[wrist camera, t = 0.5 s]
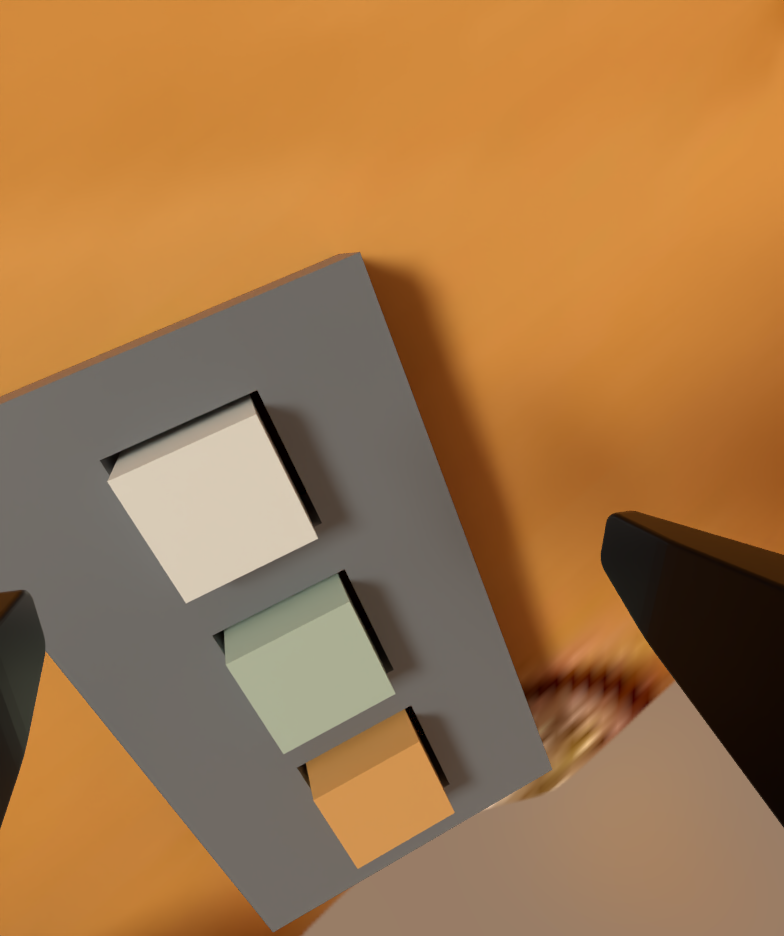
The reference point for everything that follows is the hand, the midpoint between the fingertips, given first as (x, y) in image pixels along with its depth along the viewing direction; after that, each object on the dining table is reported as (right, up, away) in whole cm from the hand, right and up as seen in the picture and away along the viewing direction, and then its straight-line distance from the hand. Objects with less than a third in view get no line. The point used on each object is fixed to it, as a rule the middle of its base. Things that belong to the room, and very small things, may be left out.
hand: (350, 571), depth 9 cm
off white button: (-5, +1, +11) cm, 12 cm away
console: (-3, -4, +15) cm, 16 cm away
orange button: (0, -11, +16) cm, 19 cm away
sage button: (-3, -5, +14) cm, 15 cm away
